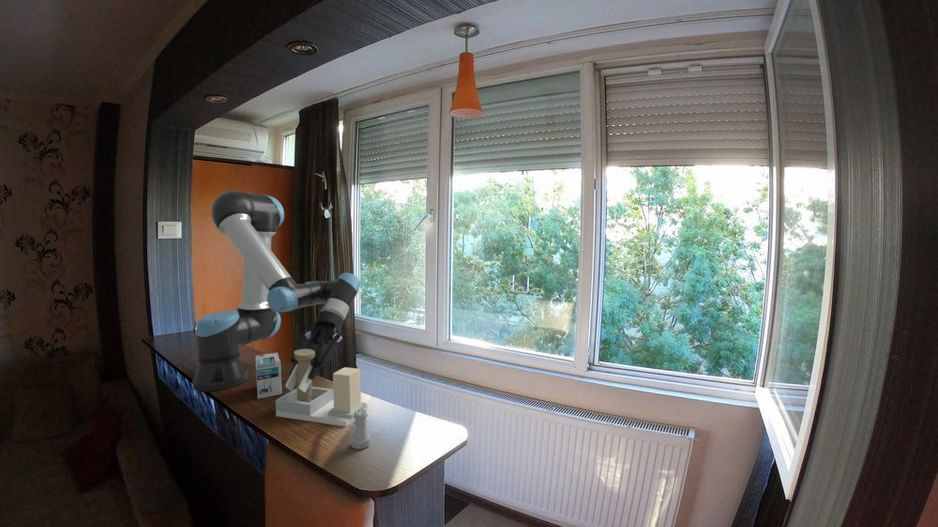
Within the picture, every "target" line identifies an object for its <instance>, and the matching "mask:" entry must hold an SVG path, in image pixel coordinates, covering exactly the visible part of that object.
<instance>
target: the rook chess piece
mask: <svg viewBox="0 0 938 527" xmlns="http://www.w3.org/2000/svg"><path fill="white" fill-rule="evenodd" d="M367 417H368V413H367V410H364V409H362V411H360V409H359V410H358V412H357V411H355V414H354V416H353V418H354V419H355V420H354V421H353V422H354V423H353V424H354V426H355V427H354V428H355V430H354V433H353V436H352V437H351V444H350V446H351V447H352V448H353V449H354V450H364V449H366V448H367V447H369V446H370V444H371V443H372V441H371V435H370V433H369V432H368V429H367V422H368V420H367V419H366V418H367Z"/></svg>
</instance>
